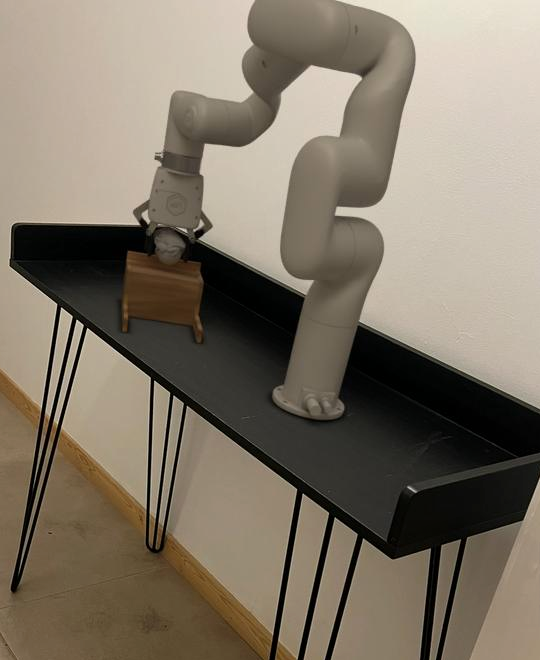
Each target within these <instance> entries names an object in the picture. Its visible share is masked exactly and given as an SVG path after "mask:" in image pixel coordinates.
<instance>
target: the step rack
mask: <svg viewBox="0 0 540 660" xmlns="http://www.w3.org/2000/svg"><path fill="white" fill-rule="evenodd" d="M201 267H202V263H201V262H198V261H192V260H188V261H187V263H185V262H184V261H183V259H181V258H180V260H179V261H178V262H177V263H175V264H172V265H167V264H164V263H163V262H161V261H160V259H159V258H158V256H157V255H155V254H152V256H150V257H148V255H147V253H144V252H138V251H132V250H127V253H126V260H125V269H124V276H123V284H122V292H121V298H120V299H121V300H120V301H121V324H122V325H121V329H122V332H123V333H127V332H128V325H129V324H128V323H129V317H130V318H137V319H144V320H150V321H156V322H157V321H158V322H163V323H170V324H177V325H178V324H179V325H183V326H191V327H192V330H193V332H194V337H195V341H196V343H198V344H201V343H202V337H203V332H204V330H203V327H202V323H201V320H200V316H199V315H200V314H199V313H200V308H201V302H202V296H203V290H204V284H205V283H204V279H203V277H202V273H201Z"/></svg>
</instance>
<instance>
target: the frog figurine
mask: <svg viewBox="0 0 540 660" xmlns="http://www.w3.org/2000/svg"><path fill="white" fill-rule="evenodd" d="M153 234H154V242H153V244H154V245H155V248H157V255H158V258H159V259H160V261H161V262H163V263H164V264H167V265H172V264H175V263H177V262H178V261H179V260H180V259H181V258H182V257H183V253H184V252H185V247H186V245H185V241H184V239H183V238H182V237H181V236H180V235H179V234H178V233H177V232H176V230H175V229H174V228H173V227H171V226H164V227H162V228H159V229H157V230H154V232H153Z"/></svg>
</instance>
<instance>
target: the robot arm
mask: <svg viewBox="0 0 540 660" xmlns="http://www.w3.org/2000/svg"><path fill="white" fill-rule="evenodd" d="M247 15H248V16H247V21H246V22H247V25H246V28H247V34H248V37H249V40H250V41H251V43H252V45H250V47H249V48H247V50H246V51H245V53H244V54H243V56H242V60H241V71H242V75H243V78H244V80H245V82H246V83H247V86H248V87H249V88H250V89H251V91H252V93H251V94H250V95H249V96H248V97H247V98H246V99H244V100H243V101H241V102H239V101H235V100H229V99H222V98H215V97H208V96H206V95H204V94H201V93H197V92H193V91H187V90H175V91H174V92H172V94H171V95H170V96H171V97H170V100H169V108H168V113H167V122H166V128H165V136H164V143H163V149H162V151H161V152H154V159H153V160H154V161H157V162H159V163H160V164H161V165H160V166H157V168H156V170H155V172H154V176H153V181H152V185H151V189H150V194H149V198H148V199H147V200H145V201H144V202H142V203H141V204H140V205H138V206H137V207H136V208H134V209H133V210H132V215H133V216H134V218H135V219H136V221H137V223H138V224H139V226H140V228H142V230H143V231H144V233H145V234H146V236H145V242H144V251H145V252H146V254H147V255H148V257H150V256H152V255H153V248H154V232H155V231H156V228H157V227H158V226H159V225H160V226H165V227H170V228H178V229H184V230H186V233H187V237H186V239H185V241H184V243H185V245H186V247H185V252H184V253H183V254H182V260H183V261H184V262H185V263H187V261H189V259H192V255H193V248H194V244H195V243H196V242H197V240H199V239H201V238H202V237H204V235H205V234H207V233H209V231H211V230H212V229H213V227H214V225H213V223H212V221H211V220H210V218H209V217H208V216H207V215H206V213H205V212H204V210H203V200H204V188H205V178H204V175H202V174H201V169H202V164H203V158H204V151H205V145H213V146H225V147H232V148H242V147H246V146H248V145H250V144H252V143H253V142H255V141H257V139H259V138H260V137H261V136H262V135H263V134H265V133H266V132H267V131H268V130H269V129H270V128H271V127H272V125H273V124H274V123H275V121H276V119H277V116H278V114H279V111H280V107H281V104H282V93H283V92H284V91H286V89H287V88H288V87H290V86H291V85H292V83H294V82H295V80H297V79H298V78H299V77H300V76H301V75H302V74H303V73H305V72H306V71H307V70H308V69H309V68H310V67H311V66H313V67H317V68H321V69H328V70H331V71H337V72H342V73H347V74H353V75H356V76H359V77H360V78H361V80H360V81H359V82H358V83H357V84H356V86H355V87H354V88H353V90H352V91H351V94H350V95H349V97H348V99H347V102H346V104H345V107H344V111H343V116H342V123H341V128H340V132H339V135H338V136H334V135H319V136H316V137H313V138H311V139H309V140H308V141H307V142H306V143H304V145H302V147H301V148H300V149H299V151H298V153H297V155H296V156H295V158H294V161H293V164H292V167H291V169H290V174H289V175H290V176H289V180H288V186H287V187H288V188H287V194H286V200H285V206H284V213H283V218H282V219H283V220H282V225H281V233H280V242H279V252H280V253H279V254H280V259H281V262H282V265H283V268H284V270H285V271H286V272H287V273H288V274H289V275H290V276H292V277H293V278H295V279H298V280H302V281H312V283H311V284H310V285H309V287H308V290H307V292H306V295H305V297H304V300H303V304H302V308H301V311H300V315H299V321H298V324H297V328H296V332H295V336H294V341H293V344H292V349H291V353H290V358H289V362H288V366H287V370H286V375H285V379H284V383H283V384H282V385H279V386H276V387H275V388H274V389H273V391H272V394H271V395H272V396H271V399H272V401H273V402H274V404H276V406H277V407H279V408H280V409H282V410H284V411H286V412H287V413H291V414H292V415H294V416H298V417H301V418H305V419H309V420H310V419H311V420H317V421H330V420H336V419H338V418H341V417H342V416H343V415H344V413H345V405H344V402H342V401H341V400H340V399H339V395H340V392H341V388H342V384H343V380H344V377H345V373H346V370H347V366H348V362H349V359H350V354H351V351H352V347H353V343H354V340H355V337H356V333H357V329H358V326H359V323H360V319H361V315H362V312H363V309H364V305H365V302H366V300H367V296H368V294H369V292H370V289H371V287H372V285H373V282H374V280H375V278H376V276H377V274H378V272H379V270H380V267H381V266H382V263H383V259H384V255H385V242H384V241H385V240H384V237H383V234H382V232H381V230H380V229H379V227H377V225H376V224H374V223H373V222H372V221H370V220H368V219H365V218H363V217H359V216H350V215H336V212H337V208H351V209H352V208H354V209H365V208H370V207H373V206H376V205H377V204H379V203H380V202H381V201H382V199H383V198H384V197H385V195H386V192H387V189H388V185H389V181H390V178H391V174H392V168H393V164H394V158H395V153H396V149H397V143H398V139H399V134H400V128H401V123H402V117H403V113H404V109H405V105H406V101H407V98H408V96H409V92H410V89H411V86H412V82H413V79H414V74H415V70H416V60H417V54H416V53H417V52H416V46H415V43H414V40H413V37H412V35H411V33H410V32H409V31H408V29H407V28H406V27H405V26H404V24H402V23H401V22H399V21H398V20H397V19H395V18H393V17H391V16H389V15H387V14H384V13H382V12H379V11H376V10H373V9H370V8H366V7H363V6H358V5H354V4H350V3H347V2H343V1H340V0H254V1H253V3H252V5H251V7H250V9H249V12H248V14H247ZM146 211H147V218H148V220H149V223H148V222H147V220H146V219H145V217H143V213H144V212H146ZM201 222H202V223H203V225H202V226H201V227H199V226H200V223H201ZM194 230H195V231H194Z"/></svg>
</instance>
